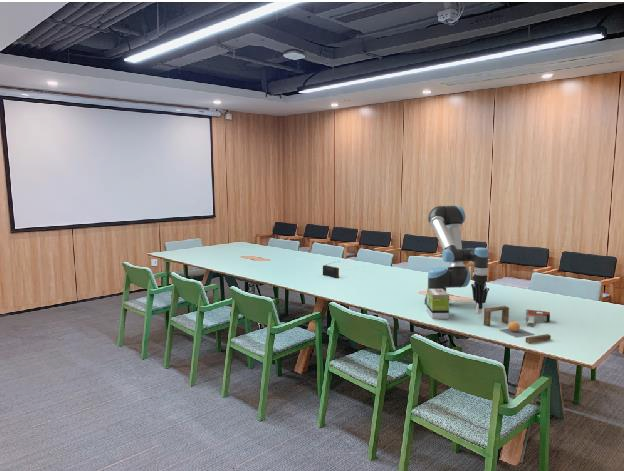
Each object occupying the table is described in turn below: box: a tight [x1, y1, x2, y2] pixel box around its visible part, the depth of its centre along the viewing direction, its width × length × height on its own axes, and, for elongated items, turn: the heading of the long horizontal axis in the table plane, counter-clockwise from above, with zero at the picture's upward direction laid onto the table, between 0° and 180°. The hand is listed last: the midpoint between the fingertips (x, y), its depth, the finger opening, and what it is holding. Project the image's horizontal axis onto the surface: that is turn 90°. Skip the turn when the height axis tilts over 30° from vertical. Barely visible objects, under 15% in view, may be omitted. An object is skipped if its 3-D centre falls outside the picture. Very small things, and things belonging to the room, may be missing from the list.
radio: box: [322, 261, 340, 279], centre depth 373 cm, size 19×3×15 cm, turn 43°
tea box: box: [426, 288, 450, 320], centre depth 264 cm, size 15×10×15 cm, turn 178°
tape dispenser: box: [525, 308, 551, 328], centre depth 253 cm, size 18×5×20 cm
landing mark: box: [499, 327, 535, 338], centre depth 234 cm, size 12×12×1 cm
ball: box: [508, 321, 521, 332], centre depth 235 cm, size 6×6×6 cm
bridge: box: [483, 305, 510, 327], centre depth 248 cm, size 3×14×9 cm, turn 110°
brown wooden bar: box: [525, 333, 552, 344], centre depth 221 cm, size 2×14×2 cm, turn 110°
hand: (478, 313), depth 261 cm, fingers closed
